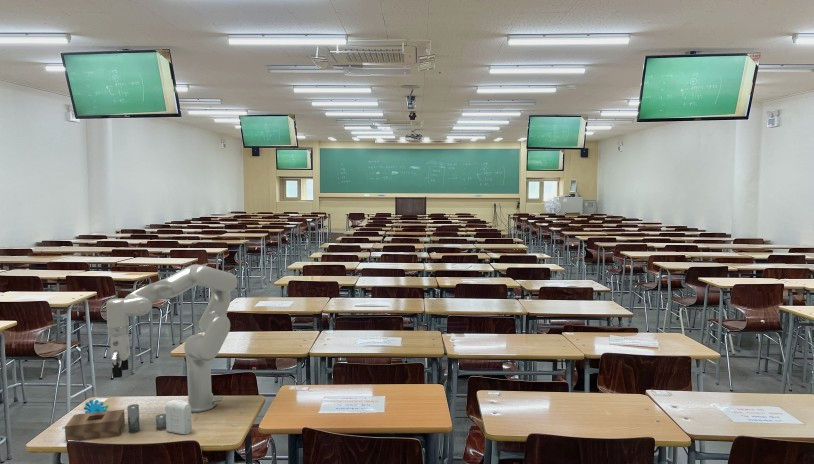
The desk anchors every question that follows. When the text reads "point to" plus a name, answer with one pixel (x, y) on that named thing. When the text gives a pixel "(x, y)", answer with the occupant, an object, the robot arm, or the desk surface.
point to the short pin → (161, 422)
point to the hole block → (95, 425)
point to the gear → (95, 407)
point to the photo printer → (178, 417)
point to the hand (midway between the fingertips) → (120, 373)
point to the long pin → (133, 418)
